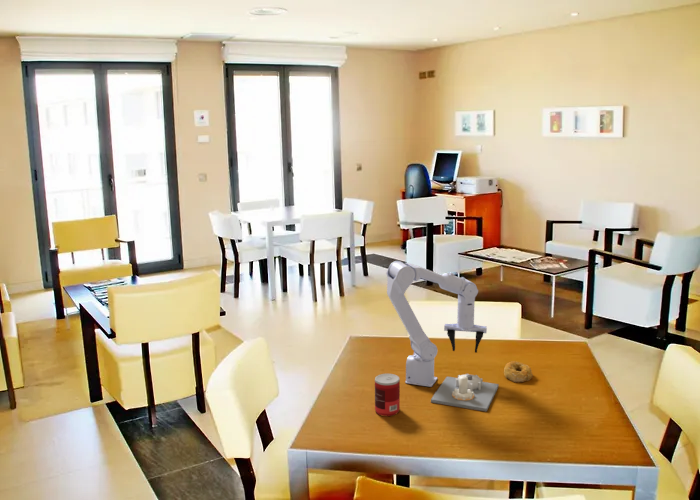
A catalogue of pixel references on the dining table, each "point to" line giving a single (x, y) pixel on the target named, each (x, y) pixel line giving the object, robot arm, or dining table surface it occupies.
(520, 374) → the bagel
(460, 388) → the planet gear
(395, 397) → the canned food
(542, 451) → the dining table surface
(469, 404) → the plate
